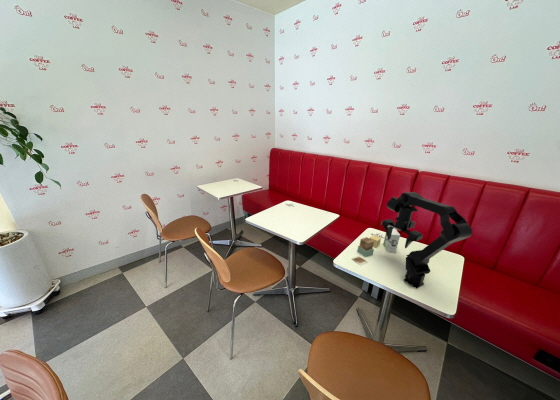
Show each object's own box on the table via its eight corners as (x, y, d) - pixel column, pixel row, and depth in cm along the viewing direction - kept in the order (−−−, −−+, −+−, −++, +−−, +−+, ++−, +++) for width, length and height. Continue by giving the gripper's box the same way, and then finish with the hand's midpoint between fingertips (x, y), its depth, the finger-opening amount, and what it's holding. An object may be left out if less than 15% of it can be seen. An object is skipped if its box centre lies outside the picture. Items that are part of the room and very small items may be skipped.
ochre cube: (379, 244, 133) (381, 238, 132) (376, 248, 130) (377, 240, 128) (371, 241, 137) (373, 234, 135) (368, 244, 133) (369, 237, 132)
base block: (372, 255, 123) (373, 249, 122) (364, 257, 121) (366, 251, 120) (364, 249, 128) (366, 243, 127) (357, 251, 126) (358, 245, 125)
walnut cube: (372, 248, 122) (374, 241, 121) (366, 251, 120) (367, 243, 118) (365, 244, 126) (366, 237, 125) (359, 246, 124) (360, 238, 122)
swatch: (367, 262, 117) (367, 261, 117) (360, 265, 114) (360, 264, 114) (358, 256, 122) (359, 255, 121) (351, 259, 119) (351, 258, 119)
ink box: (382, 244, 134) (386, 227, 130) (390, 244, 134) (395, 228, 130) (387, 252, 126) (391, 234, 122) (396, 252, 126) (400, 235, 122)
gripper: (433, 220, 103) (424, 248, 108) (396, 207, 118) (390, 232, 123) (420, 225, 97) (411, 254, 103) (383, 210, 112) (377, 236, 118)
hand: (397, 243), depth 112 cm, fingers open, 9 cm apart
